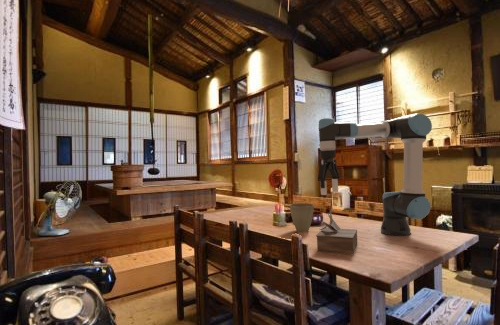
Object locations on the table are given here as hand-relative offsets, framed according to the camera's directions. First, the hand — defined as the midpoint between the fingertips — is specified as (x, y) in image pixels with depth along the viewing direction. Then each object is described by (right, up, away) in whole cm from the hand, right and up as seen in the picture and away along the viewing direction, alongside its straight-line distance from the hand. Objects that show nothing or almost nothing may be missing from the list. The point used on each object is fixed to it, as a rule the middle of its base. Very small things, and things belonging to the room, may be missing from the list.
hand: (329, 193), depth 144 cm
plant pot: (-7, -27, +37) cm, 46 cm away
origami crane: (-1, -19, 0) cm, 19 cm away
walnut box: (+3, -27, -2) cm, 27 cm away
